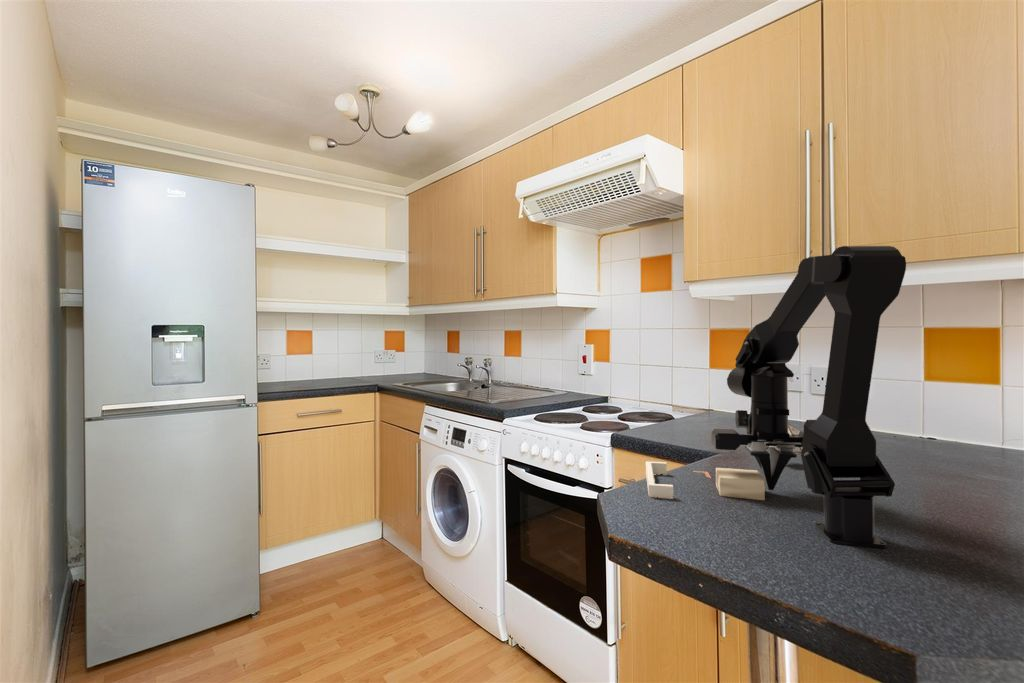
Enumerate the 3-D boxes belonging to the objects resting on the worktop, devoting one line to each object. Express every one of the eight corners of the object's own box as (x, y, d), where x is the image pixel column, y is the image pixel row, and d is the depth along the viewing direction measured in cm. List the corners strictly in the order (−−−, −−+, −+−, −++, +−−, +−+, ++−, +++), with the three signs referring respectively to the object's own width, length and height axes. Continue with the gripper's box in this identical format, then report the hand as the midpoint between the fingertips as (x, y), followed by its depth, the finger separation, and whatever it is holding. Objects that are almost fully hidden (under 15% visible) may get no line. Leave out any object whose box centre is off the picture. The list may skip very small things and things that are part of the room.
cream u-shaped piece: (673, 504, 82) (673, 486, 82) (648, 502, 83) (648, 485, 83) (666, 477, 99) (666, 462, 99) (645, 476, 99) (645, 461, 99)
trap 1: (711, 480, 96) (711, 478, 96) (669, 478, 98) (669, 476, 98) (707, 473, 101) (707, 471, 101) (667, 471, 103) (667, 469, 103)
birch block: (764, 504, 82) (764, 480, 82) (720, 500, 84) (719, 477, 84) (757, 492, 89) (756, 470, 89) (715, 488, 91) (715, 467, 91)
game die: (764, 465, 107) (763, 419, 107) (764, 457, 115) (764, 414, 115) (811, 469, 103) (811, 422, 103) (808, 461, 111) (808, 417, 111)
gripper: (812, 397, 92) (813, 479, 92) (706, 395, 96) (707, 474, 96) (835, 404, 81) (836, 498, 81) (715, 402, 86) (716, 491, 86)
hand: (770, 489), depth 86 cm, fingers closed
